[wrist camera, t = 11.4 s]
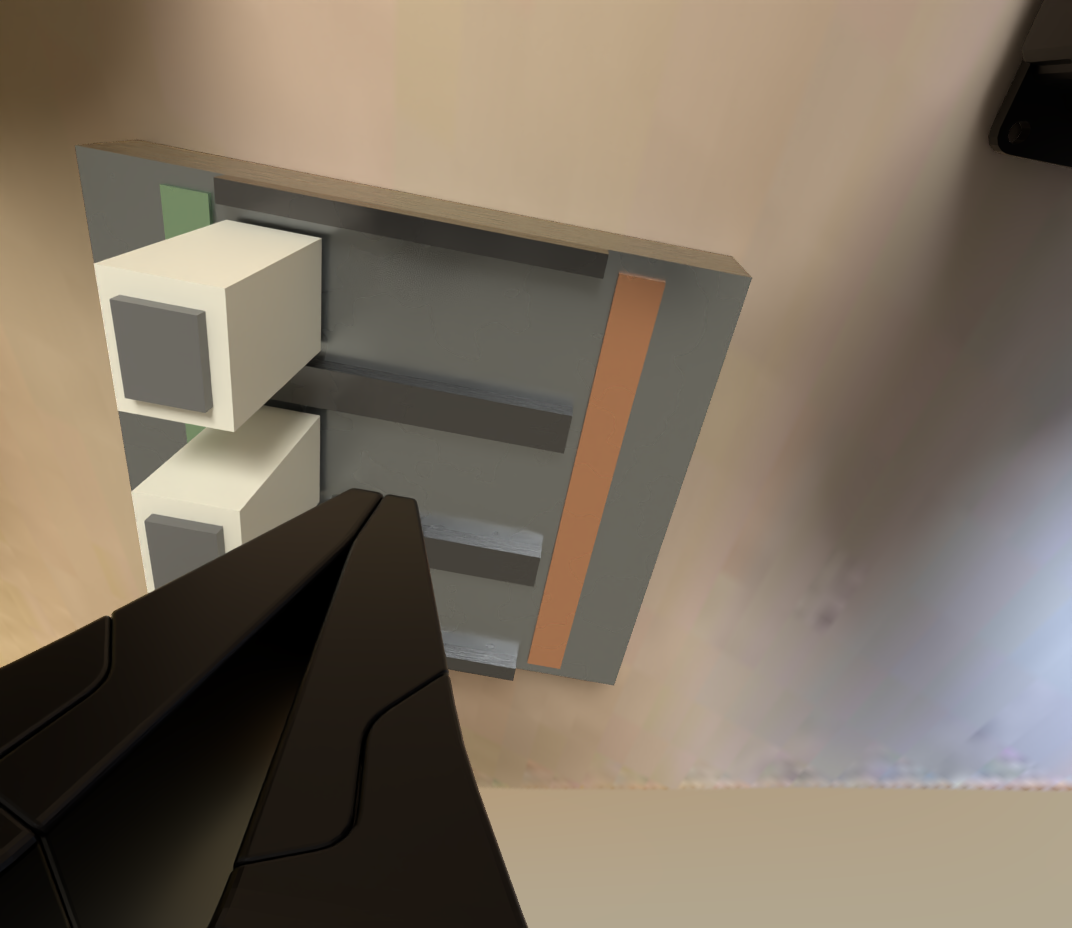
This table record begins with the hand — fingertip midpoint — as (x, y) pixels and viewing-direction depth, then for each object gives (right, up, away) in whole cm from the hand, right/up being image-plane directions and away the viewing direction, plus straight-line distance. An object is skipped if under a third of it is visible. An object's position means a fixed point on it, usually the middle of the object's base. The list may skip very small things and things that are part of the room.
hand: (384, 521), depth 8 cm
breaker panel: (-2, +2, +13) cm, 14 cm away
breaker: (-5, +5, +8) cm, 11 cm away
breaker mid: (-6, +1, +11) cm, 12 cm away
